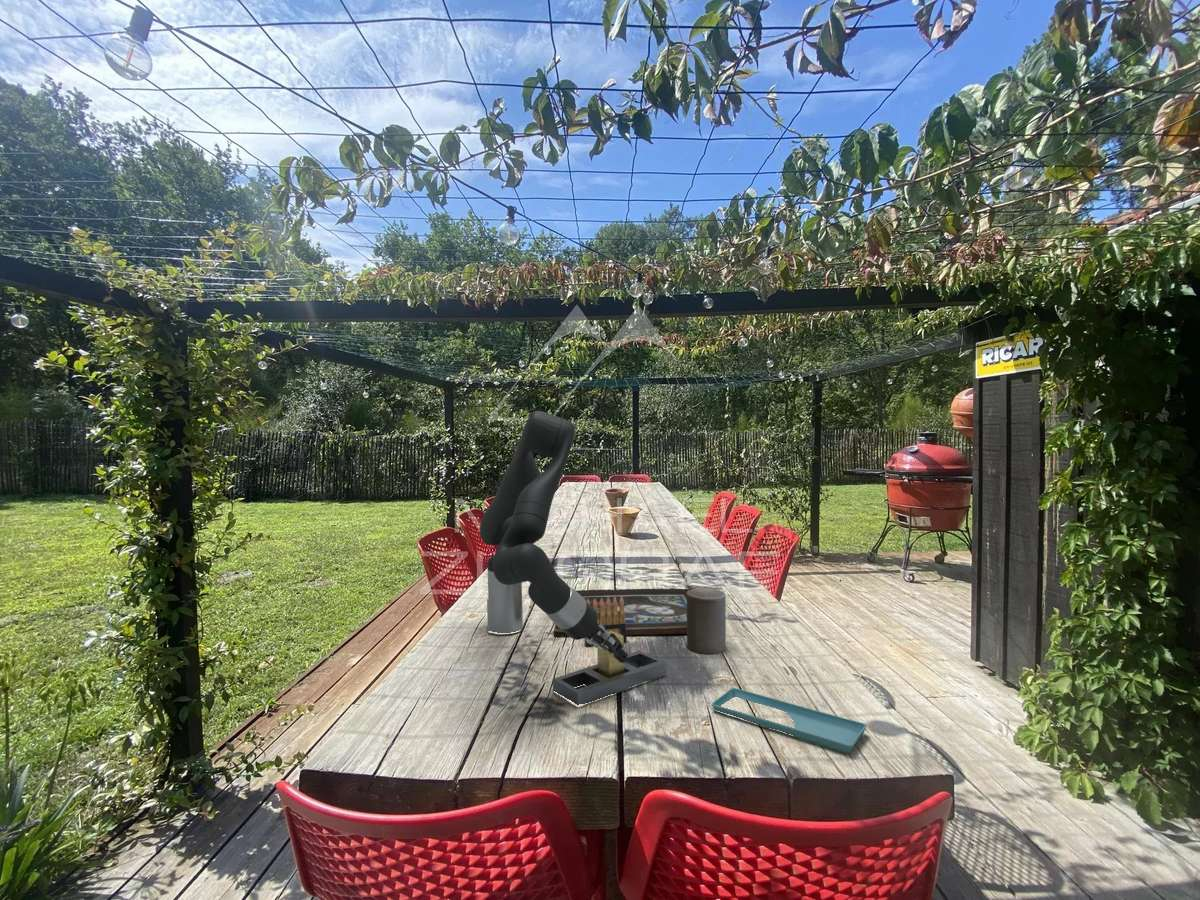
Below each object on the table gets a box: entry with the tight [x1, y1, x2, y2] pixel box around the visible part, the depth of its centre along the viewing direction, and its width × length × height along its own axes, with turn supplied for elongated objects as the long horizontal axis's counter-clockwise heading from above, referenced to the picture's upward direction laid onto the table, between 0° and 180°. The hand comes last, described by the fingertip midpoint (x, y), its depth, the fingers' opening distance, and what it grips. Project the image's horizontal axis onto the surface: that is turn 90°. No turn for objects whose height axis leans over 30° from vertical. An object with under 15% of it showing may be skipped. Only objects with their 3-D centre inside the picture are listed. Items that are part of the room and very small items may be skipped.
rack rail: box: [552, 650, 667, 705], centre depth 126 cm, size 24×9×3 cm, turn 127°
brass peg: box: [597, 631, 625, 678], centre depth 126 cm, size 4×4×9 cm
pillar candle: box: [686, 587, 727, 655], centre depth 146 cm, size 10×10×15 cm
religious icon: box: [553, 587, 697, 638], centre depth 174 cm, size 40×45×3 cm
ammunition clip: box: [584, 596, 628, 648], centre depth 150 cm, size 11×2×12 cm, turn 103°
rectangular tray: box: [711, 687, 868, 754], centre depth 108 cm, size 26×9×2 cm, turn 50°
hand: (617, 655), depth 127 cm, fingers closed on brass peg, 4 cm apart
